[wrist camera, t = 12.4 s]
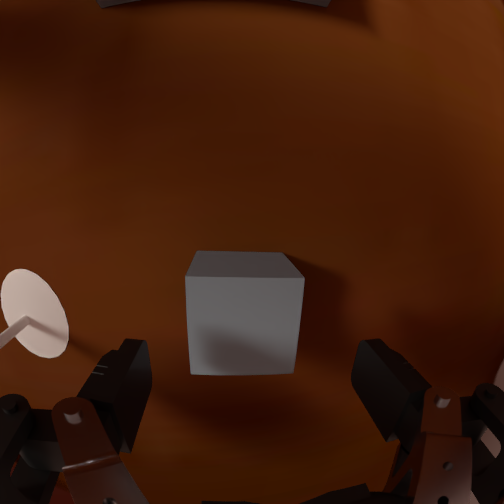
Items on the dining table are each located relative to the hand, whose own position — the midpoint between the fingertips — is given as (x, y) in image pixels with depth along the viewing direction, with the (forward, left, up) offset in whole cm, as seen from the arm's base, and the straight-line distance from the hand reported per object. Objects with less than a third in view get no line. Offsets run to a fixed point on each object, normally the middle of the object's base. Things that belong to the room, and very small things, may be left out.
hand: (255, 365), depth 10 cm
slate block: (0, 0, -8) cm, 8 cm away
